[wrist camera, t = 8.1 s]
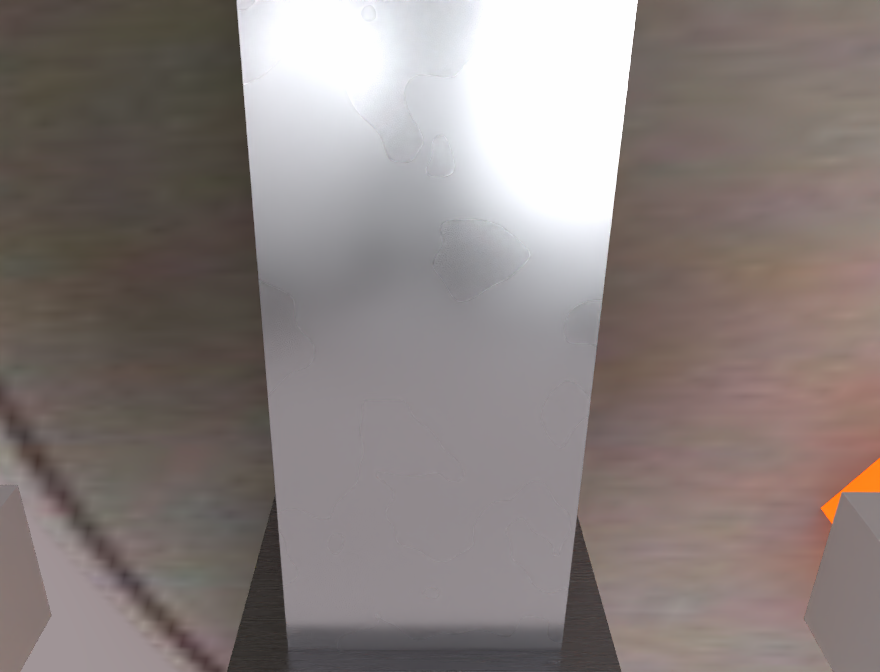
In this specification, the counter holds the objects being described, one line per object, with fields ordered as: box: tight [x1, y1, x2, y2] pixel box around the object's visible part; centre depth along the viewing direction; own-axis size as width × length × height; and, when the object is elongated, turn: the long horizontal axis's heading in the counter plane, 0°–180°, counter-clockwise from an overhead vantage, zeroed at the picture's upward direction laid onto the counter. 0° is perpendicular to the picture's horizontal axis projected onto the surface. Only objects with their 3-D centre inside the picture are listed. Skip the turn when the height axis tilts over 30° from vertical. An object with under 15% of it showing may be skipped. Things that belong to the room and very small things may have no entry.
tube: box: [227, 0, 637, 672], centre depth 15 cm, size 25×7×7 cm, turn 179°
